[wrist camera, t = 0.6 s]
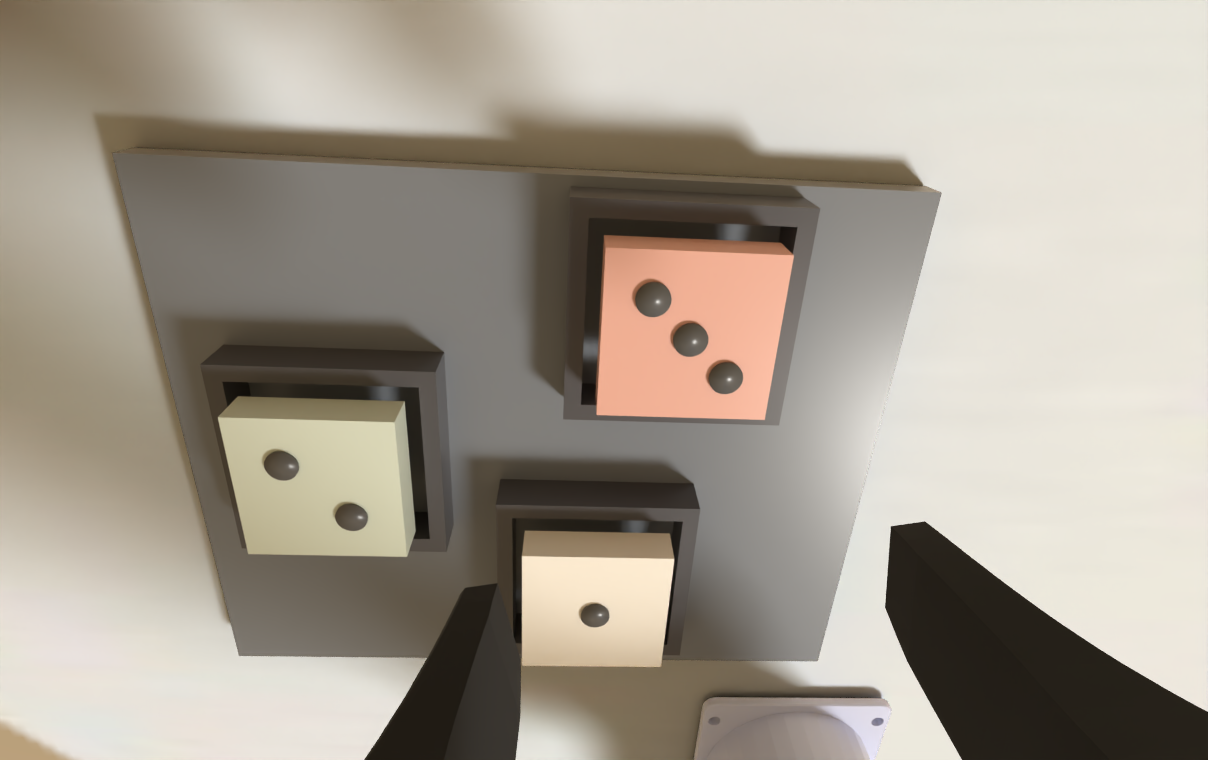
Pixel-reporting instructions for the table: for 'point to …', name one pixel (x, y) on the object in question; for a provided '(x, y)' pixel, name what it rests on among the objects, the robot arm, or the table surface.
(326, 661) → the table surface
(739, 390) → the key three
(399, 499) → the key two
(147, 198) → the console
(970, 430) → the table surface
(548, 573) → the key one
